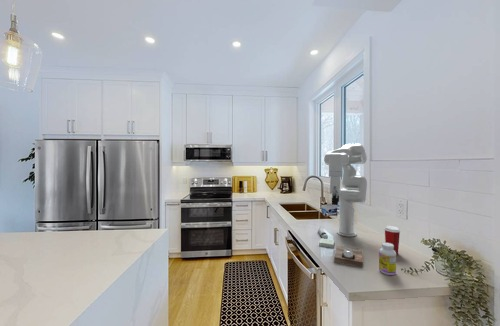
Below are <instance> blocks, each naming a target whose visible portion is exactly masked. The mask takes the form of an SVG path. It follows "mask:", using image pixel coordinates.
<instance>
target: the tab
mask: <svg viewBox="0 0 500 326" xmlns="http://www.w3.org/2000/svg"><path fill="white" fill-rule="evenodd" d="M318 244H319V245H318V246H319V247H324V248H331V249H334V246H335V240H334V239H329V238H328V239H323V238H322V237H321V238H320V240H319V243H318Z"/></svg>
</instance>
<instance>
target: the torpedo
mask: <svg viewBox="0 0 500 326" xmlns="http://www.w3.org/2000/svg"><path fill="white" fill-rule="evenodd" d="M317 232H318V233H319V235H320V236H321V238H322V239H329V238H328V234H327V233H326V231H325V230H324V228H321V227H319V228H318V229H317Z"/></svg>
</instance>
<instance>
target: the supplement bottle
mask: <svg viewBox="0 0 500 326" xmlns="http://www.w3.org/2000/svg"><path fill="white" fill-rule="evenodd" d="M393 249H394V245H393V244H390V243H385V242H382V243H381V248H380V249H379V255H378V257H379V258H378V260H379V261H378V262H379V263H378V270H379V271H380V272H381V273H382V274H384V275H387V276H394V275H396V274H397V255H396V252H395V251H394V250H393Z"/></svg>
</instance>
